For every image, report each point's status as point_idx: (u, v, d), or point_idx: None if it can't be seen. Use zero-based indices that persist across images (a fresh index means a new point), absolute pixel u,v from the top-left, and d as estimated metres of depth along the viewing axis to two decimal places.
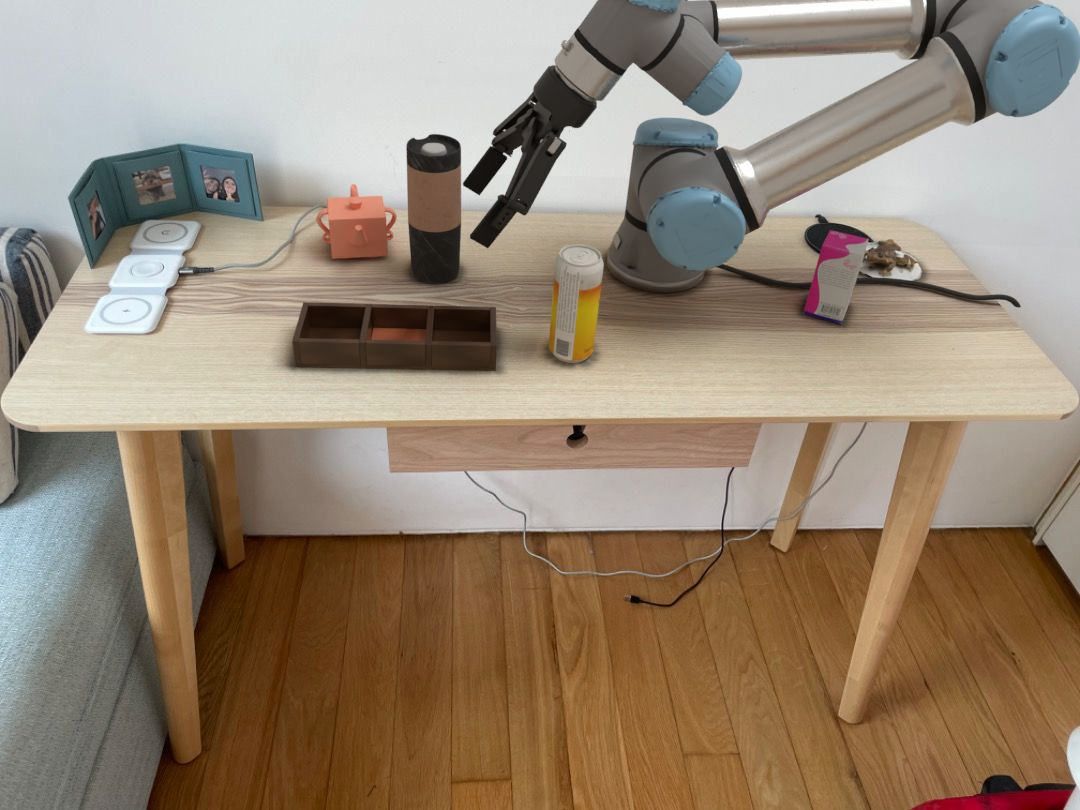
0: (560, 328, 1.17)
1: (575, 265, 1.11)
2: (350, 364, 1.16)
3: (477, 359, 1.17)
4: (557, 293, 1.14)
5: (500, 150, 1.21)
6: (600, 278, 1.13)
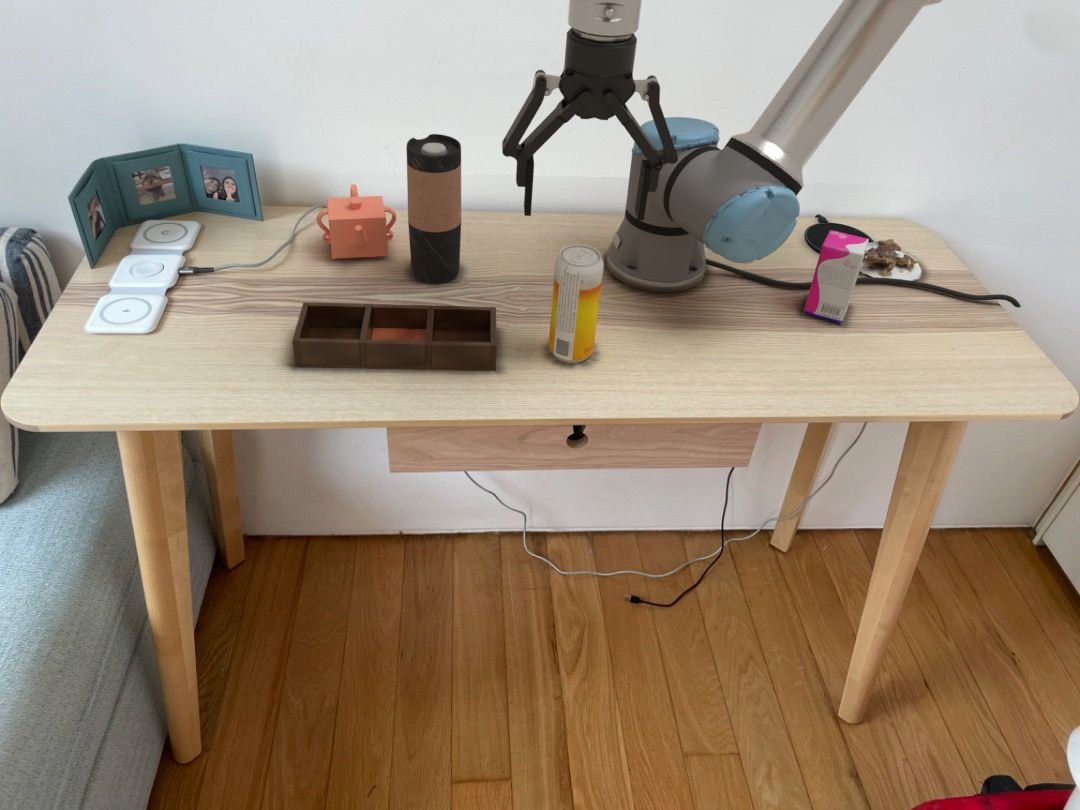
0: (560, 328, 1.17)
1: (575, 265, 1.11)
2: (350, 364, 1.16)
3: (477, 359, 1.17)
4: (557, 293, 1.14)
5: None
6: (600, 278, 1.13)
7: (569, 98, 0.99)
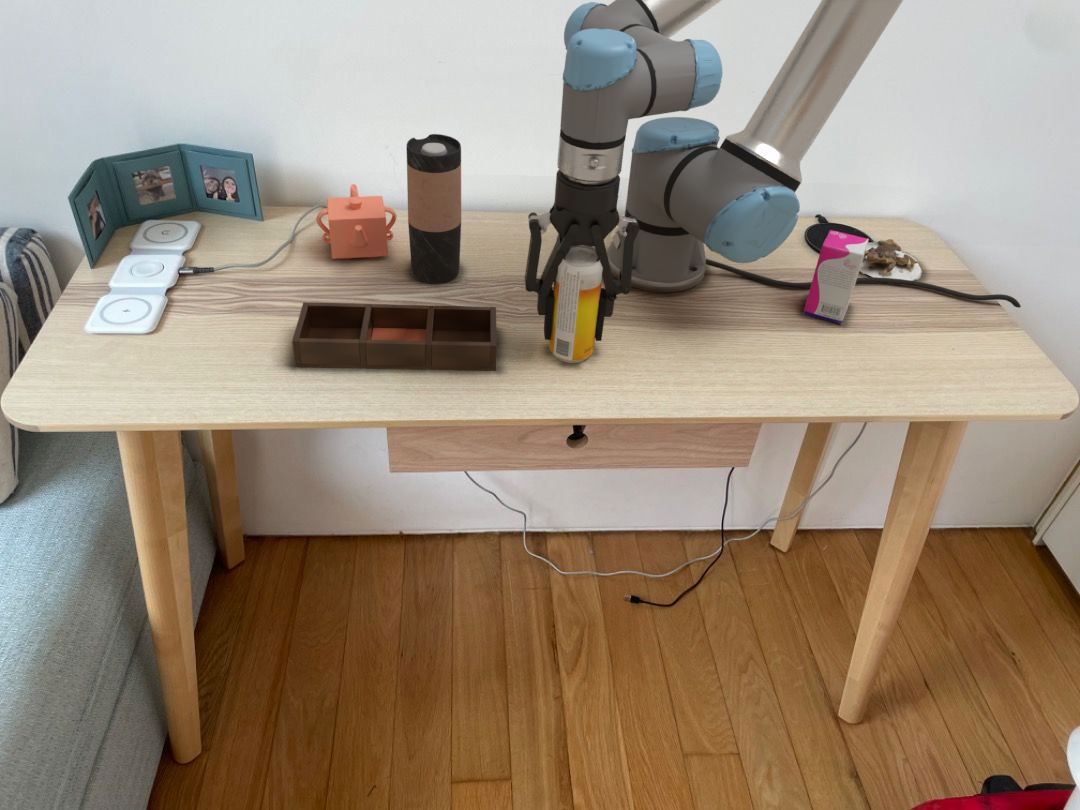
0: (560, 328, 1.17)
1: (575, 265, 1.11)
2: (350, 364, 1.16)
3: (477, 359, 1.17)
4: (557, 293, 1.14)
5: None
6: (600, 278, 1.13)
7: (559, 229, 1.09)
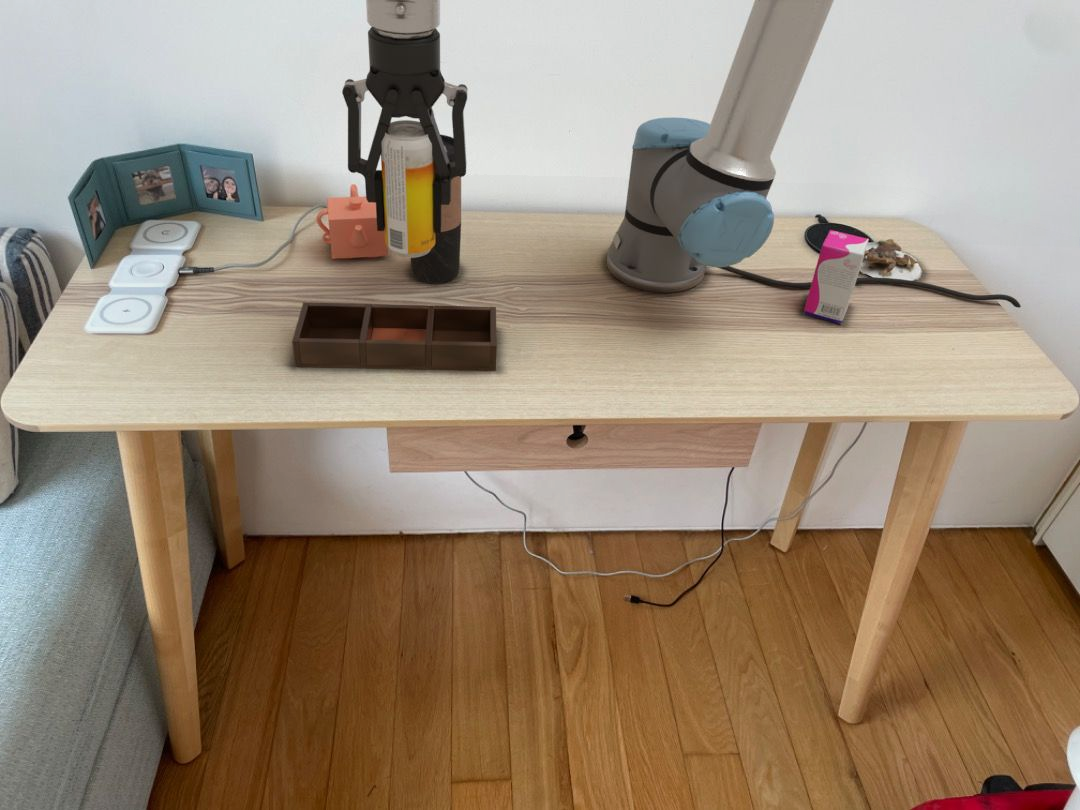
0: (391, 215, 1.05)
1: (398, 139, 0.99)
2: (350, 364, 1.16)
3: (477, 359, 1.17)
4: (384, 174, 1.03)
5: (376, 172, 1.05)
6: (430, 156, 1.02)
7: (377, 96, 0.98)
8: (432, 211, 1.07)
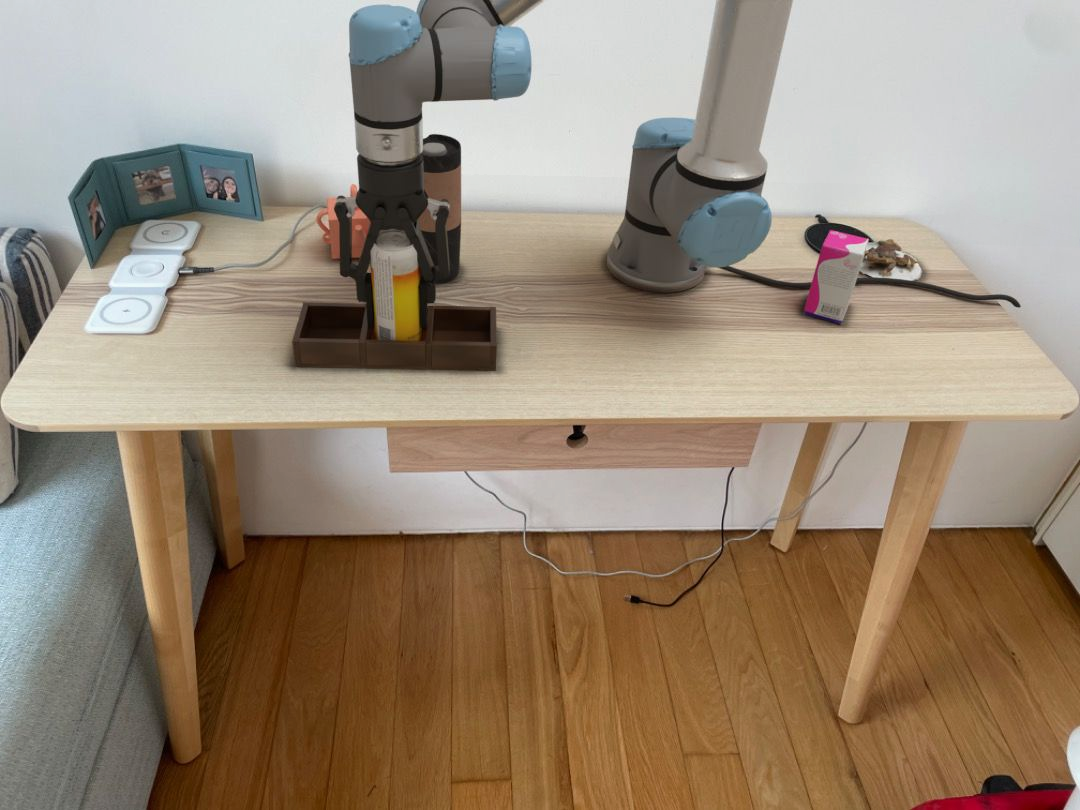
0: (380, 315, 1.14)
1: (385, 249, 1.08)
2: (350, 364, 1.16)
3: (477, 359, 1.17)
4: (373, 279, 1.12)
5: (366, 275, 1.13)
6: (415, 263, 1.11)
7: (366, 212, 1.07)
8: (418, 309, 1.15)
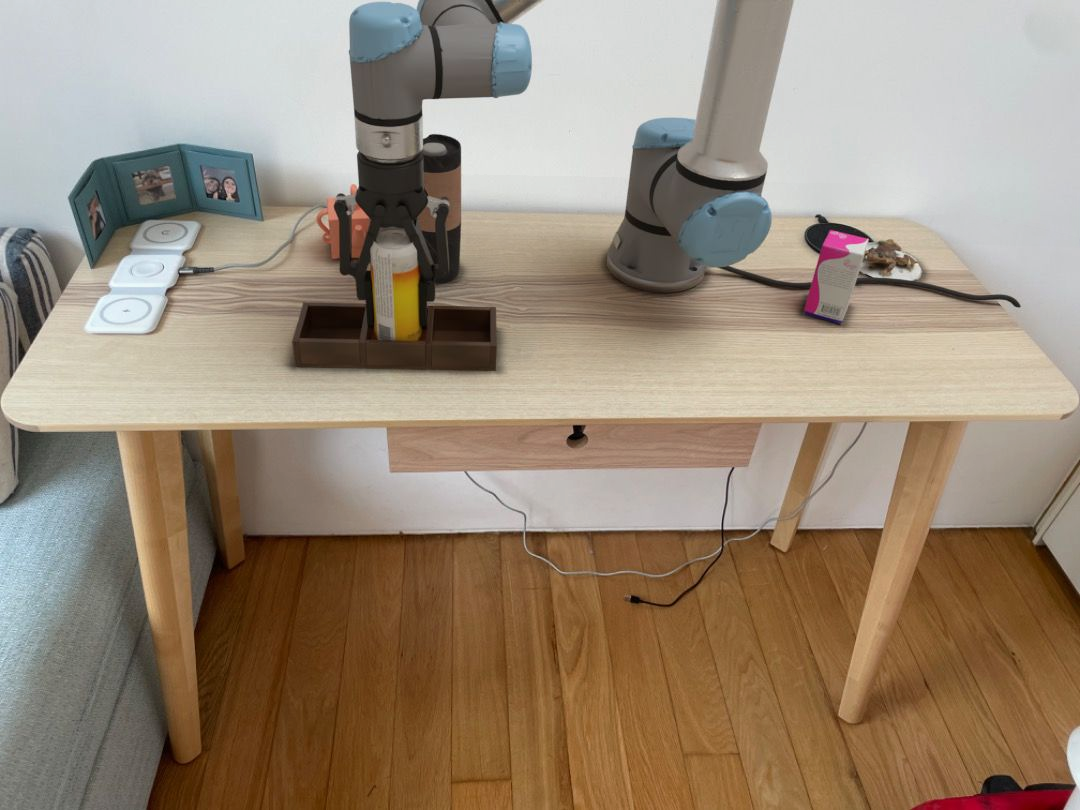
0: (380, 313, 1.14)
1: (385, 247, 1.08)
2: (350, 364, 1.16)
3: (477, 359, 1.17)
4: (373, 277, 1.11)
5: (365, 273, 1.13)
6: (415, 261, 1.10)
7: (366, 210, 1.06)
8: (418, 308, 1.15)
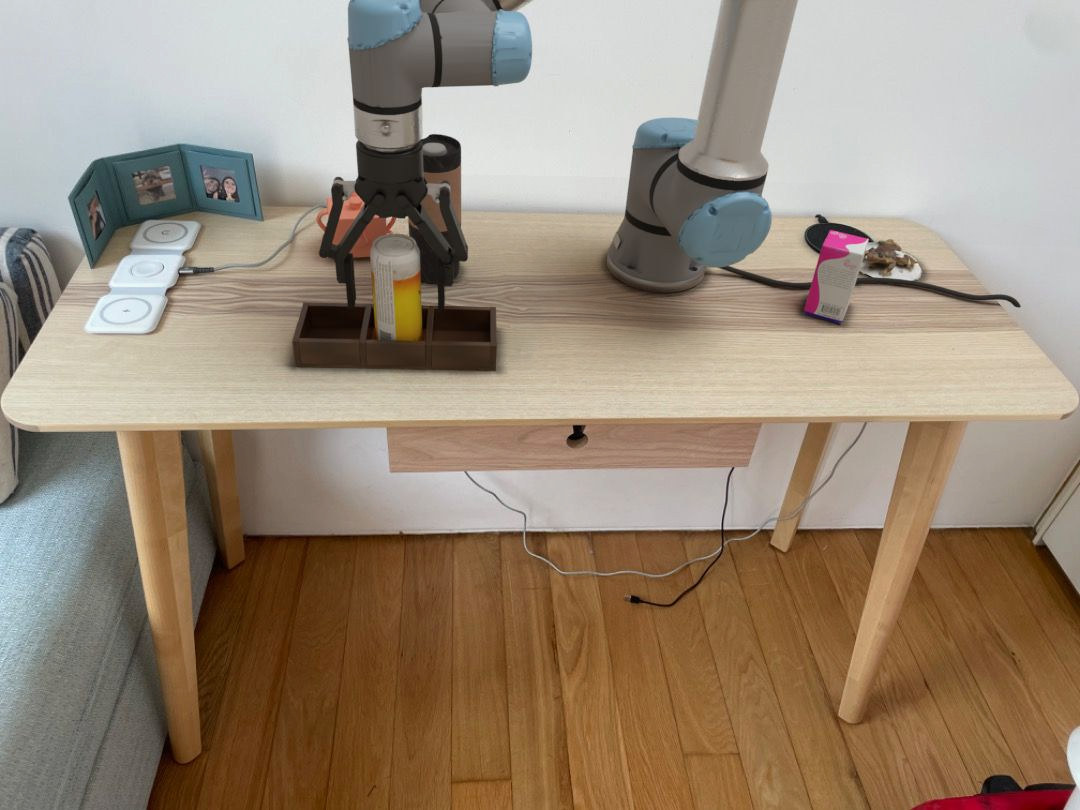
0: (381, 319, 1.15)
1: (386, 255, 1.09)
2: (350, 364, 1.16)
3: (477, 359, 1.17)
4: (374, 283, 1.12)
5: (345, 256, 1.11)
6: (415, 268, 1.11)
7: (365, 200, 1.06)
8: (419, 314, 1.16)
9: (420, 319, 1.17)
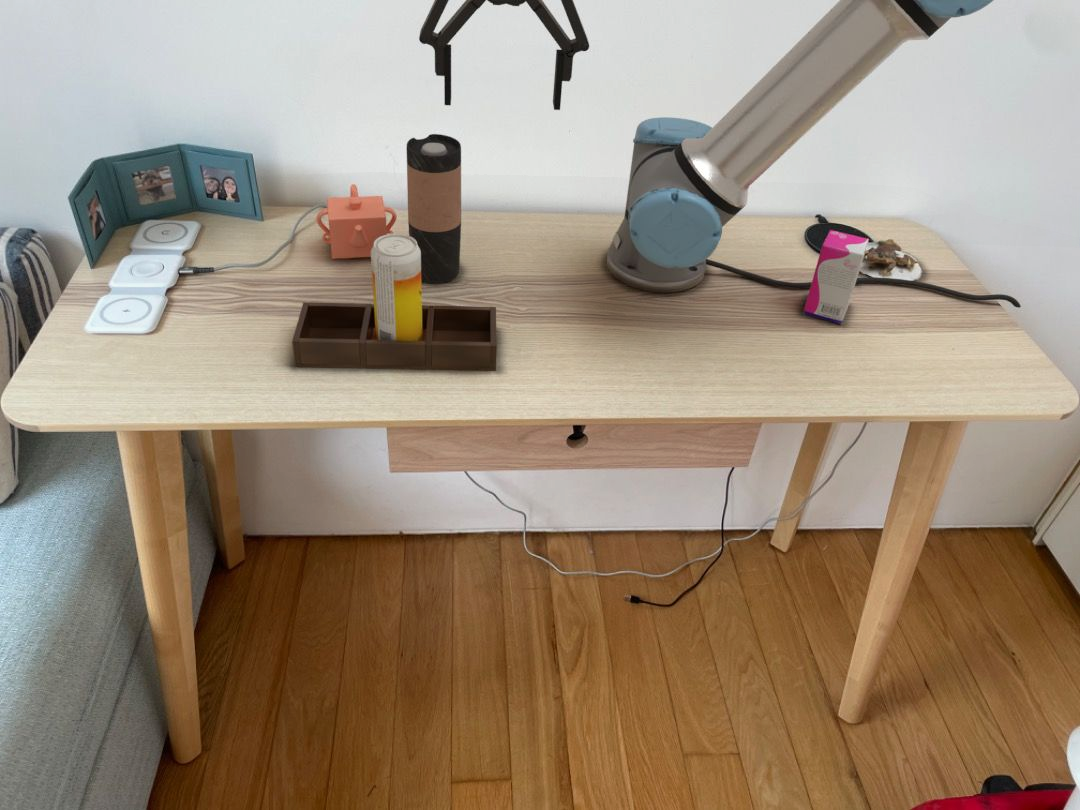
0: (381, 319, 1.15)
1: (387, 255, 1.09)
2: (350, 364, 1.16)
3: (477, 359, 1.17)
4: (374, 283, 1.12)
5: (445, 45, 1.09)
6: (416, 268, 1.11)
7: None
8: (419, 314, 1.16)
9: (420, 319, 1.17)
